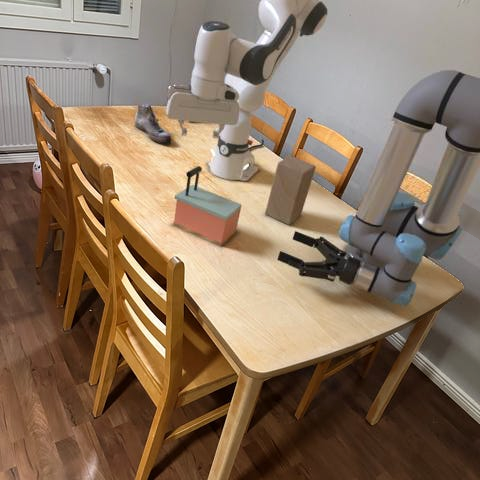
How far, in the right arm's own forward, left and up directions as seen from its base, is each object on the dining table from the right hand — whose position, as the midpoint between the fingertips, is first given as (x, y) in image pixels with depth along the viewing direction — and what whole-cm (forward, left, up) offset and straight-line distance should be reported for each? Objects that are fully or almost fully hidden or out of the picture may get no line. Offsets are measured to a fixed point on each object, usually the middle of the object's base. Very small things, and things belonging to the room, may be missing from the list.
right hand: (286, 244), depth 128 cm
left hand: (+30, -15, +22) cm, 40 cm away
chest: (+24, -12, -7) cm, 28 cm away
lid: (+24, -12, +2) cm, 27 cm away
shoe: (+54, -84, -7) cm, 100 cm away
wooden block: (-3, -30, -7) cm, 31 cm away
